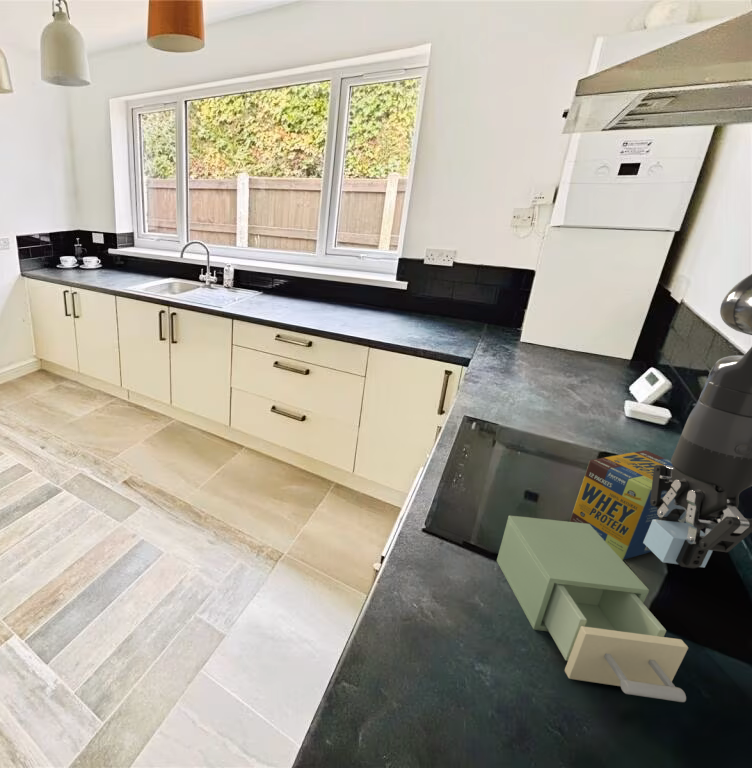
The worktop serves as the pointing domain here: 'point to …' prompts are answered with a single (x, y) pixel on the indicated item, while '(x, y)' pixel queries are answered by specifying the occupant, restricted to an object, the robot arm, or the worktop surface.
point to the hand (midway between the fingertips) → (673, 553)
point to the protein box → (620, 500)
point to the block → (669, 540)
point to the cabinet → (559, 563)
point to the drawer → (614, 641)
